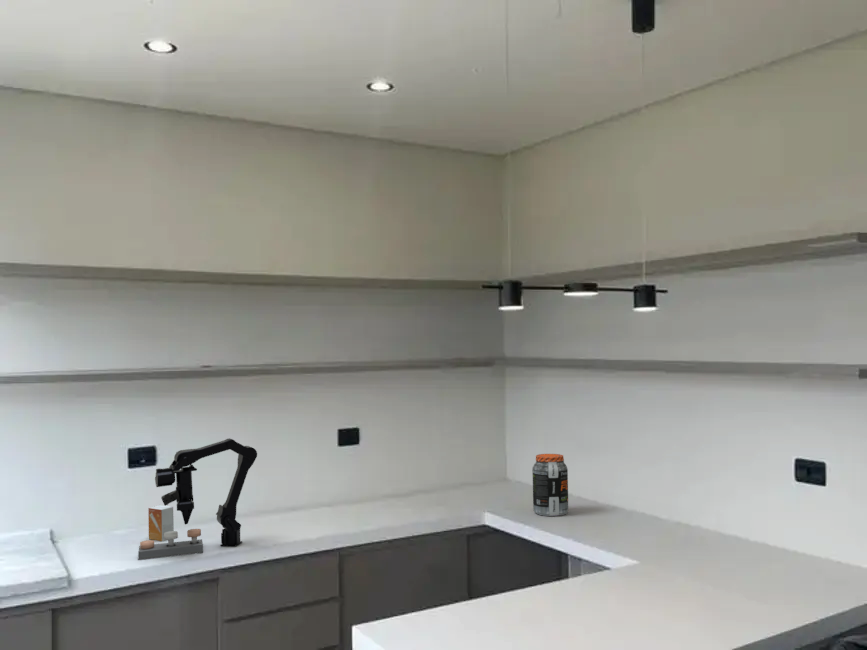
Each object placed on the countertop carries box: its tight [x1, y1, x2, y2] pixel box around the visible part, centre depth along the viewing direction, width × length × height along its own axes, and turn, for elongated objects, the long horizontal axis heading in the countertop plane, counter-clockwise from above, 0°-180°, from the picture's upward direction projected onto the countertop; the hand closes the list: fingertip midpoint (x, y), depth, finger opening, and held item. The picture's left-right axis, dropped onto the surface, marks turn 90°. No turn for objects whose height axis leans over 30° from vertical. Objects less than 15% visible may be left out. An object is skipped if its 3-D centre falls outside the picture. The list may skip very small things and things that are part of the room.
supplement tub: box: [532, 453, 569, 517], centre depth 341 cm, size 16×16×26 cm
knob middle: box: [164, 530, 179, 547], centre depth 290 cm, size 5×5×5 cm
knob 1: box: [139, 539, 155, 549], centre depth 287 cm, size 5×5×5 cm
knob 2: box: [186, 528, 202, 544], centre depth 292 cm, size 5×5×5 cm
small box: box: [147, 504, 175, 542], centre depth 312 cm, size 8×6×13 cm
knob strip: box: [137, 539, 204, 561], centre depth 290 cm, size 23×9×3 cm, turn 109°
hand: (186, 523), depth 292 cm, fingers closed
